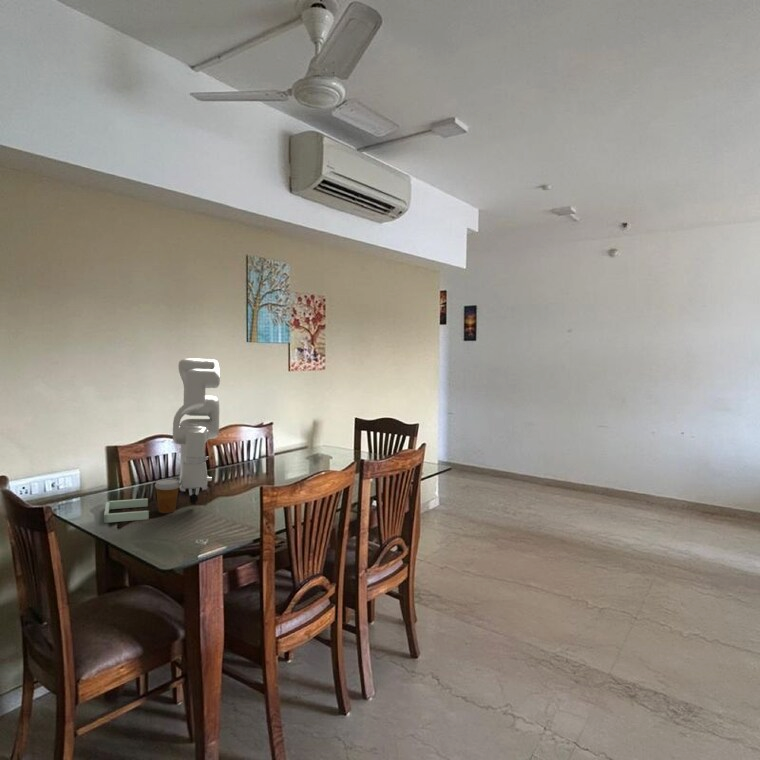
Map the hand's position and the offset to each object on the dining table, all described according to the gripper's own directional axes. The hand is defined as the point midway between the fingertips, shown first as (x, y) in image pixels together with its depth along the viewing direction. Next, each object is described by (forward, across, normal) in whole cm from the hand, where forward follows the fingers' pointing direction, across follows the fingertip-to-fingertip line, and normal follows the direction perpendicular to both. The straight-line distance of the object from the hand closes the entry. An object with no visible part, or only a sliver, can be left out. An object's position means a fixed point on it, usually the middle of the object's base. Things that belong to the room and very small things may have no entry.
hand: (193, 503), depth 215 cm
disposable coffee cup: (+2, +10, 0) cm, 10 cm away
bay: (+2, +24, 0) cm, 24 cm away
